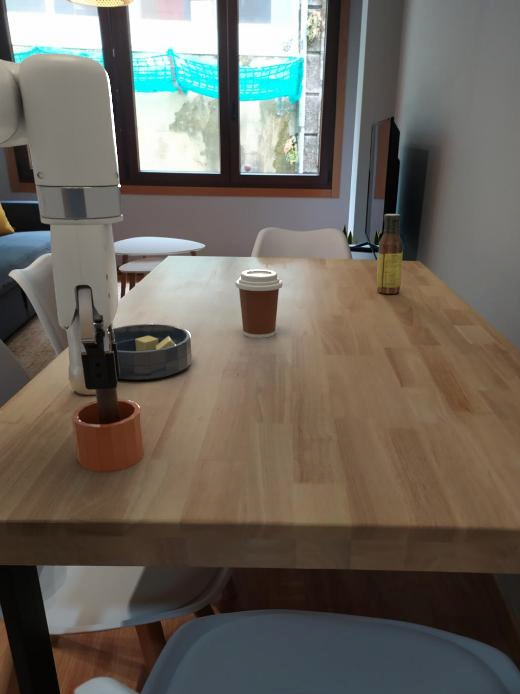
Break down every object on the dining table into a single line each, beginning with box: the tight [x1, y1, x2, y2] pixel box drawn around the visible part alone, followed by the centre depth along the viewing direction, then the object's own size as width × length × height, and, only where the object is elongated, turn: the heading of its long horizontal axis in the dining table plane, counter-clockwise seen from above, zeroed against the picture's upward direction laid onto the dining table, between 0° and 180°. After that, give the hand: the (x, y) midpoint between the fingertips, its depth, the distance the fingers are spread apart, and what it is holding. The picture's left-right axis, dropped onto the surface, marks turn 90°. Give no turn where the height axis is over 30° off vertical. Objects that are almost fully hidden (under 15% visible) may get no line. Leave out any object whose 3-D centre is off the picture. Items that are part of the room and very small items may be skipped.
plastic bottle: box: [65, 317, 96, 396], centre depth 77 cm, size 6×7×20 cm
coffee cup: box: [235, 269, 283, 339], centre depth 106 cm, size 9×9×12 cm
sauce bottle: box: [376, 213, 404, 295], centre depth 140 cm, size 6×6×20 cm
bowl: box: [111, 323, 193, 381], centre depth 90 cm, size 15×15×5 cm
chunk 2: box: [156, 336, 176, 349], centre depth 91 cm, size 3×3×3 cm
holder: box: [71, 398, 145, 473], centre depth 62 cm, size 7×7×6 cm
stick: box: [95, 331, 120, 425], centre depth 60 cm, size 2×2×14 cm
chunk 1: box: [135, 336, 159, 351], centre depth 94 cm, size 3×3×3 cm
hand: (103, 381), depth 59 cm, fingers closed on stick, 2 cm apart
